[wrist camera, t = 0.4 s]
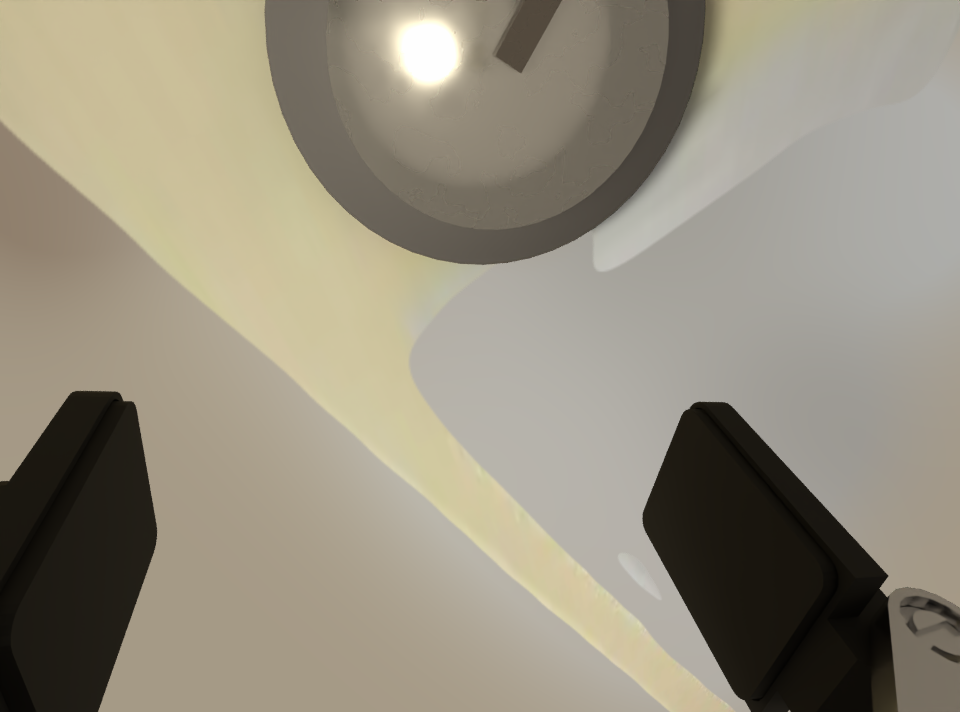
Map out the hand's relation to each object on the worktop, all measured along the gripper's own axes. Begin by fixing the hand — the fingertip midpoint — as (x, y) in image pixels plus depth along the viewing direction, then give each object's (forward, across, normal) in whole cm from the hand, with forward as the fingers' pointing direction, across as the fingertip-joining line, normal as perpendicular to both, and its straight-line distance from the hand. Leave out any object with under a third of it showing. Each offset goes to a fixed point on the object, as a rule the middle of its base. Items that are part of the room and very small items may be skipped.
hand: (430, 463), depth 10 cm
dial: (+27, -6, -5) cm, 28 cm away
